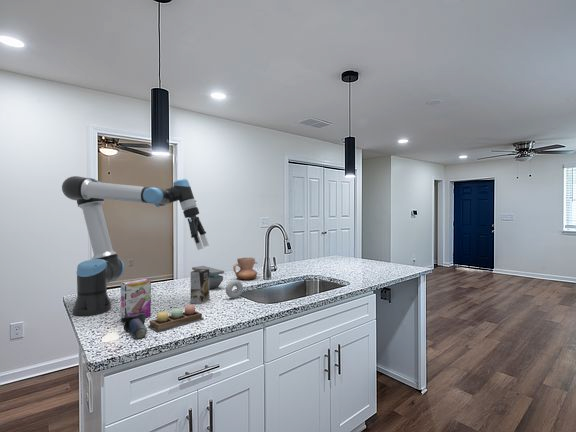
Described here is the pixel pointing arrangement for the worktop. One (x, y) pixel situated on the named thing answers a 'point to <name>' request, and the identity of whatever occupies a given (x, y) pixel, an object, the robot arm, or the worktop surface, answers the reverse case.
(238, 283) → the donut
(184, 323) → the wooden tray
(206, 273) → the coffee box
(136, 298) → the candy bar box
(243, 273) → the ceramic jug
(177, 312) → the button sage
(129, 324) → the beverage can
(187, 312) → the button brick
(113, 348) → the worktop surface
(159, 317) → the button ochre
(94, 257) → the robot arm
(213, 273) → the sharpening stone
